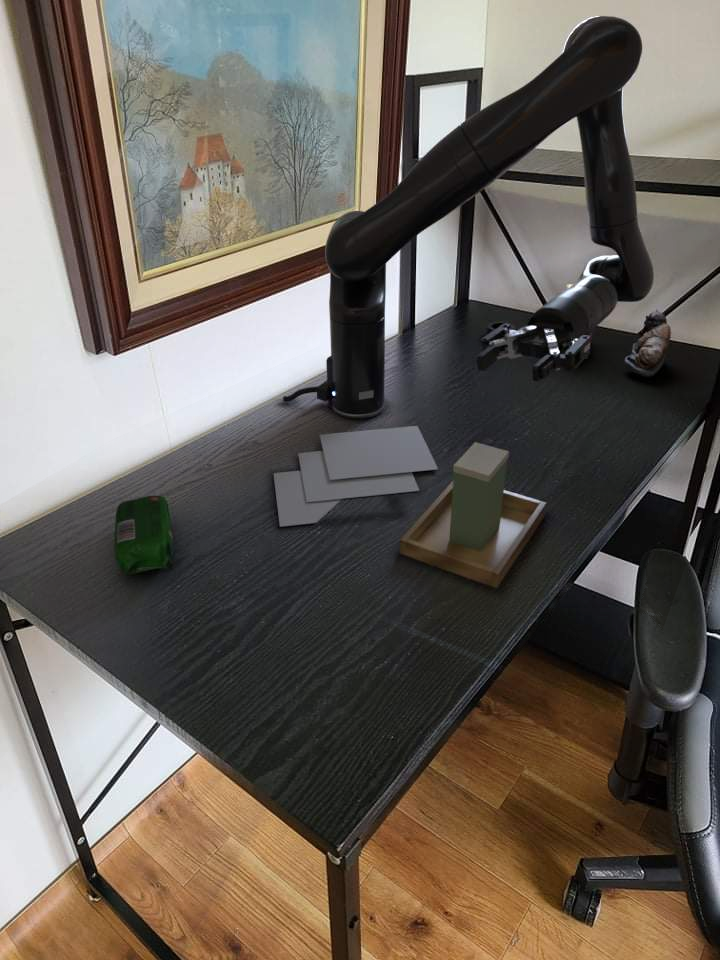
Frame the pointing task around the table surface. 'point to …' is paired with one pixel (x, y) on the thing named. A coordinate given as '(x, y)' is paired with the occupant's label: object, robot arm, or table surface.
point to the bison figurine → (650, 346)
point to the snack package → (143, 535)
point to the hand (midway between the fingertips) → (506, 369)
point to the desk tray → (486, 566)
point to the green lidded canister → (477, 495)
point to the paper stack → (351, 471)
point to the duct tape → (495, 325)
